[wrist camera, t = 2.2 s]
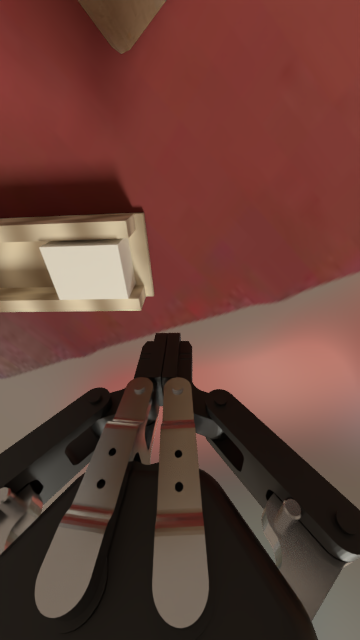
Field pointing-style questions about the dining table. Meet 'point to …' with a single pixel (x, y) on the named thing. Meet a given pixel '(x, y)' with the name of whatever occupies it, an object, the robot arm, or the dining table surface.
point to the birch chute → (31, 271)
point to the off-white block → (90, 268)
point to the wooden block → (121, 19)
